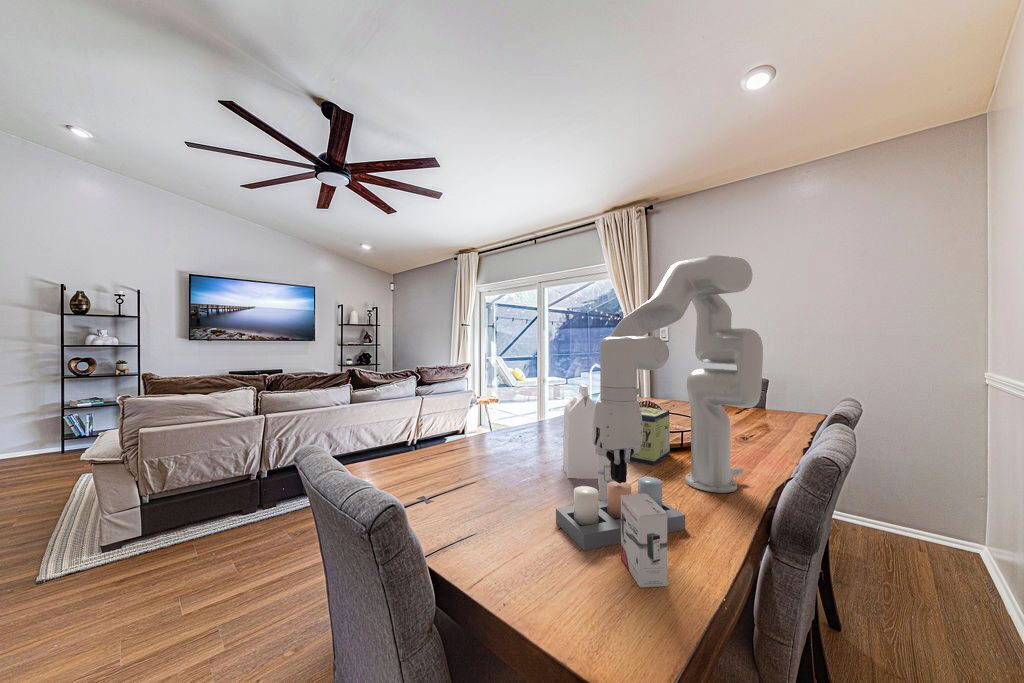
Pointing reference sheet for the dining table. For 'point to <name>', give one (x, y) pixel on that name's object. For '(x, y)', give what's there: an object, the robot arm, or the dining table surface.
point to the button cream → (586, 505)
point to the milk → (579, 437)
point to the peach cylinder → (616, 497)
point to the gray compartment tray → (606, 526)
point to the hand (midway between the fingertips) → (618, 480)
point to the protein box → (653, 437)
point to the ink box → (644, 539)
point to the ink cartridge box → (603, 476)
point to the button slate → (651, 488)
